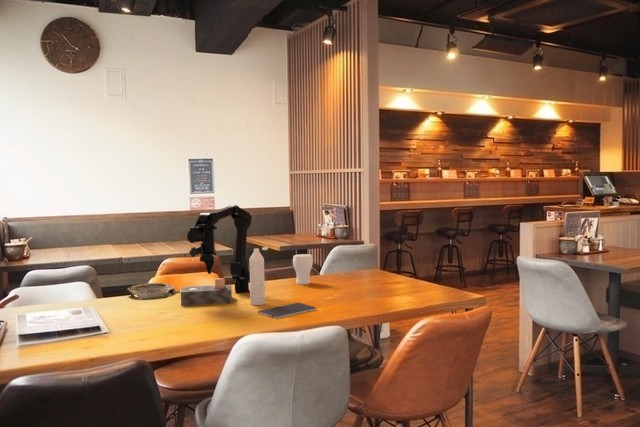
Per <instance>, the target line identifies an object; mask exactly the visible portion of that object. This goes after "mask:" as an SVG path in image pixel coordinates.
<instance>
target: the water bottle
mask: <svg viewBox="0 0 640 427" xmlns="http://www.w3.org/2000/svg"><path fill="white" fill-rule="evenodd" d="M261 249H262V251H268V249H269V247H268V246H267V247H266V246H265V247H264V246H263V247H261ZM248 260H249V261H248V262H249V272H250V280H249V293H250V298H249V299H250V302H249V303H250V305H251V306H262V305H265V304H266V291H265V288H266V286H265V285H266V284H265V282H266V281H265V259H264V256H263V255H262V254H261V252H260V248H257V247H256V248H253V252H252V254H251V255H250V257H249V259H248Z"/></svg>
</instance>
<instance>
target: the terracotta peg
mask: <svg viewBox="0 0 640 427" xmlns="http://www.w3.org/2000/svg"><path fill="white" fill-rule="evenodd" d="M225 283H226V281H225V278H224V277H223V278H221V277H220V278H215V279H214V285H215V289H225V285H226V284H225Z"/></svg>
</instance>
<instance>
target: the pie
mask: <svg viewBox="0 0 640 427" xmlns="http://www.w3.org/2000/svg"><path fill="white" fill-rule="evenodd" d="M127 291H128V292H129V293H130V294H131V296H132V297H133V298H135V297H134V295H137V296H138V297H139V298H141V300H142V301H143V300H144V299H147V300H152V299H153V300H154V299H155V298H160V297H159V296H161V297H162V299H165V298H166V296H167V297H169V295H170V296H172V294H177V293H180V292H181V291H180V290H179V289H177V290H176V289H175V287H174V286H173V284H168V283H166V282H152V283H151V282H150V283H149V282H148V283H143V284H142V283H140V284H136V285H135V284H134V285H132V286H130V287H127ZM170 292H171V293H170ZM164 295H166V296H164ZM154 297H155V298H154Z"/></svg>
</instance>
